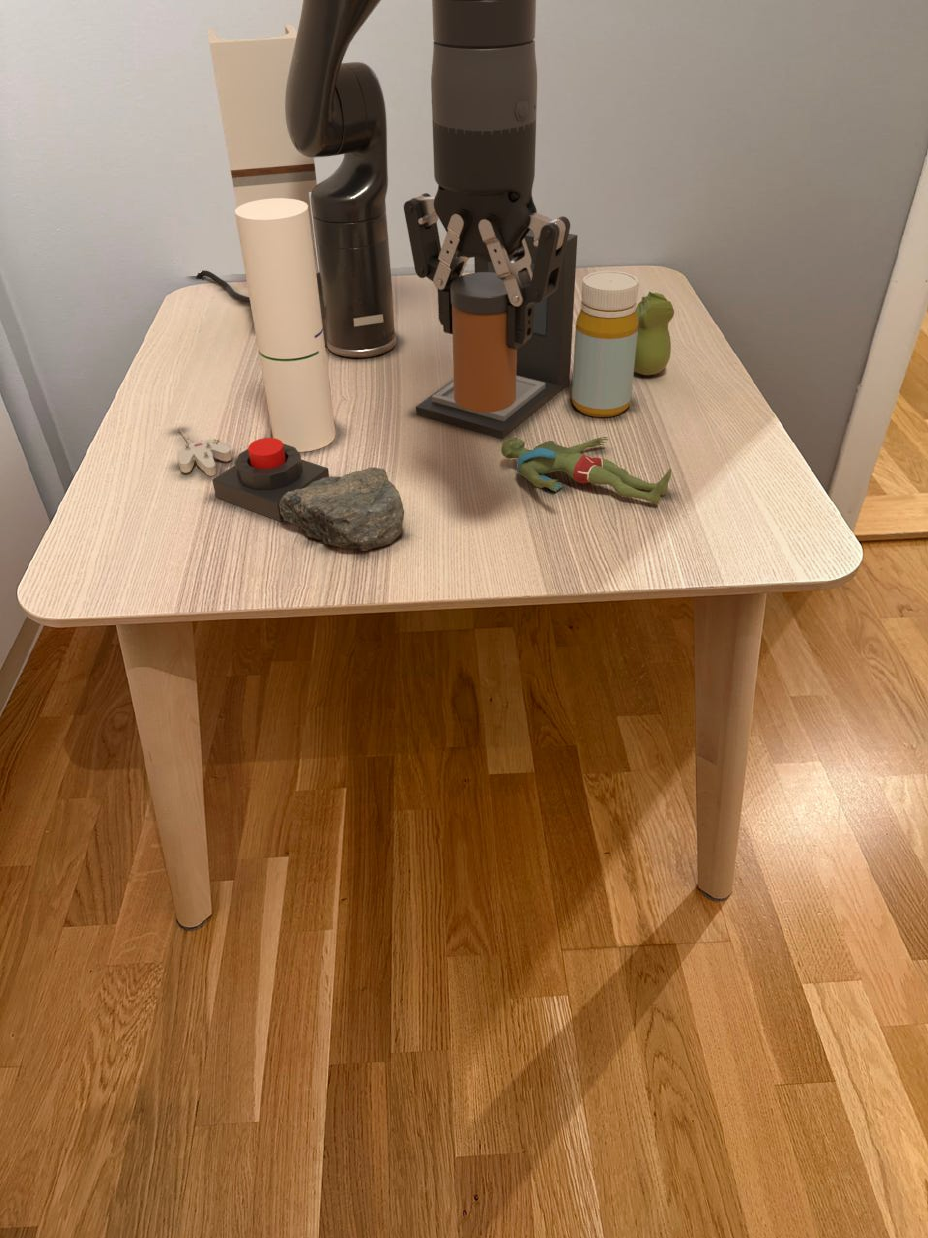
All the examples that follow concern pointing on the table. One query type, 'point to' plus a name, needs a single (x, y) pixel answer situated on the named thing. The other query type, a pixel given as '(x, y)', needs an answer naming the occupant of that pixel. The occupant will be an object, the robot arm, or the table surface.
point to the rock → (348, 509)
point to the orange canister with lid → (482, 344)
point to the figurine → (578, 468)
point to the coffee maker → (524, 357)
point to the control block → (266, 482)
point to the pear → (653, 334)
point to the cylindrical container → (287, 320)
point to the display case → (260, 120)
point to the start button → (266, 453)
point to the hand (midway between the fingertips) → (484, 337)
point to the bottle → (605, 344)
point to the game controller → (202, 455)
